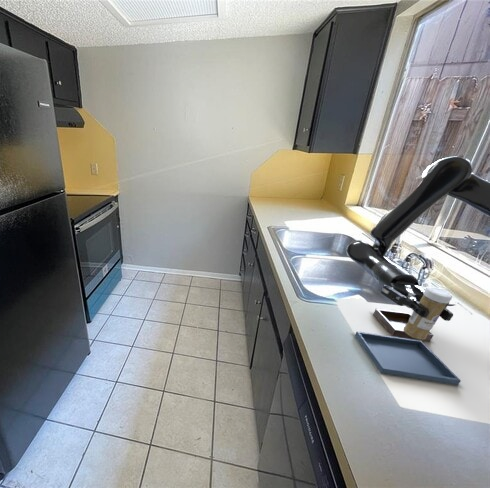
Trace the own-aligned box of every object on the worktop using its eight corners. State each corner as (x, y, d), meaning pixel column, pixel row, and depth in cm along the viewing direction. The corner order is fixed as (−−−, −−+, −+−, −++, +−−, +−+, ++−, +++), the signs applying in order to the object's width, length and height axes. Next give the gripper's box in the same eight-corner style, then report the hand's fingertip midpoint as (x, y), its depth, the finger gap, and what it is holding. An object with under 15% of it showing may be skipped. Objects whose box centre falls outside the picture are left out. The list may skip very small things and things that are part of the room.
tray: (418, 345, 75) (421, 340, 74) (456, 386, 63) (461, 380, 62) (354, 336, 77) (356, 331, 76) (380, 374, 65) (383, 368, 64)
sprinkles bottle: (421, 343, 64) (449, 299, 58) (399, 331, 67) (423, 288, 62) (428, 336, 66) (456, 293, 60) (406, 325, 69) (430, 283, 64)
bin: (406, 319, 86) (409, 313, 84) (429, 342, 76) (433, 335, 75) (372, 315, 87) (375, 308, 86) (391, 337, 78) (395, 330, 77)
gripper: (371, 264, 75) (411, 299, 60) (425, 270, 73) (481, 308, 58) (361, 285, 79) (397, 324, 63) (413, 291, 77) (463, 333, 61)
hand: (437, 316), depth 61 cm, fingers closed on sprinkles bottle, 4 cm apart
